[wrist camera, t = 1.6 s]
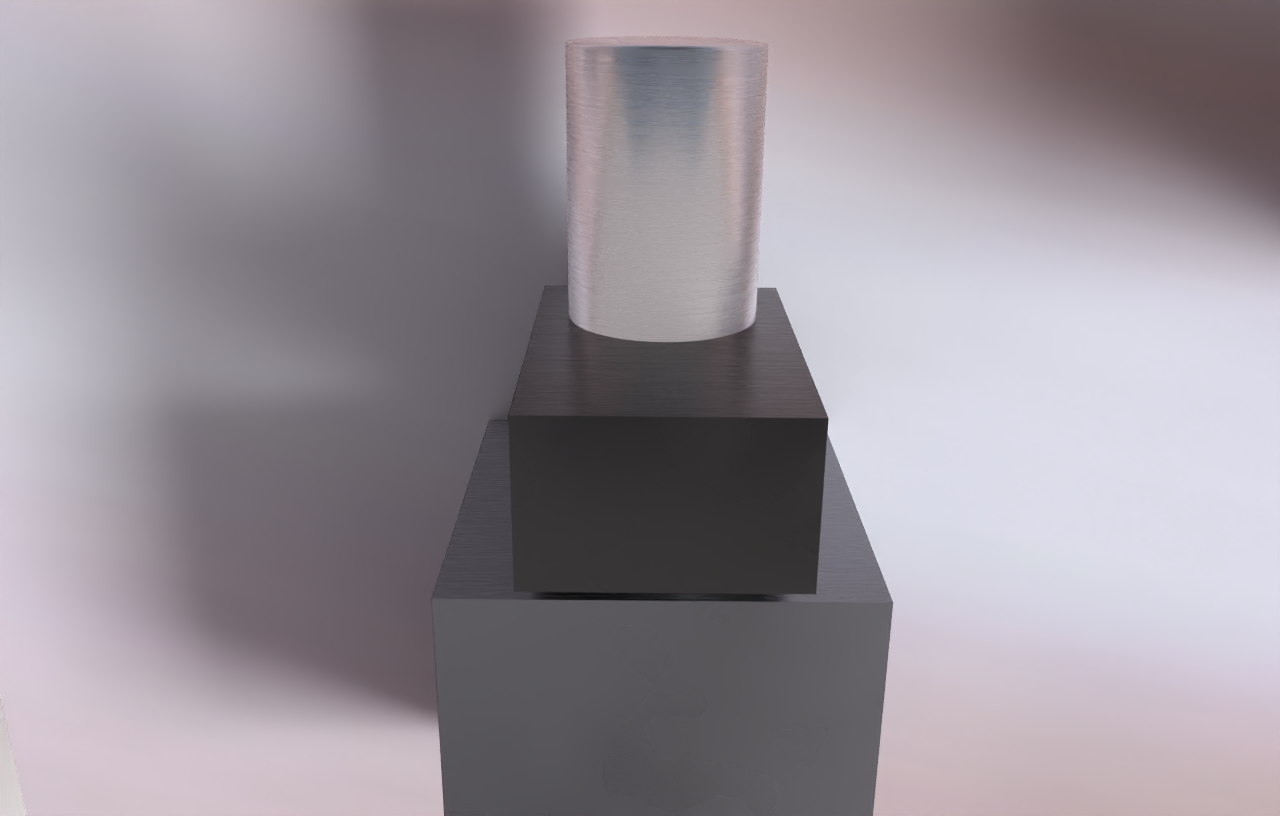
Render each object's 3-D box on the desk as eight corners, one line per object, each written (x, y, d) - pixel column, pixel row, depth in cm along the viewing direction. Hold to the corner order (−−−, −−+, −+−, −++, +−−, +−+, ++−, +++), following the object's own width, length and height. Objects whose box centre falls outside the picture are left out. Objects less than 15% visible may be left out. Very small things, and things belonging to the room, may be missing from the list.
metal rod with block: (750, 783, 30) (784, 1042, 22) (554, 781, 30) (527, 1040, 22) (788, 37, 23) (852, 73, 16) (540, 34, 23) (497, 70, 16)
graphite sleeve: (802, 738, 32) (855, 998, 24) (501, 736, 32) (454, 995, 24) (823, 423, 29) (893, 602, 21) (489, 420, 29) (431, 599, 21)
